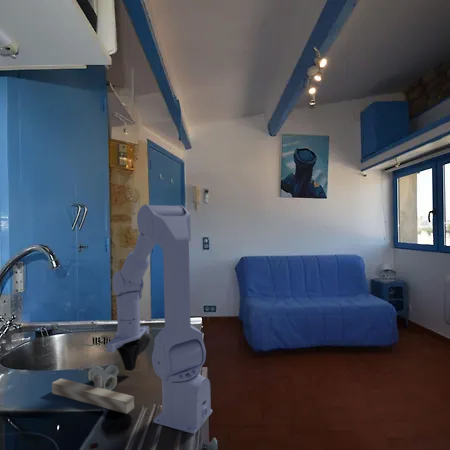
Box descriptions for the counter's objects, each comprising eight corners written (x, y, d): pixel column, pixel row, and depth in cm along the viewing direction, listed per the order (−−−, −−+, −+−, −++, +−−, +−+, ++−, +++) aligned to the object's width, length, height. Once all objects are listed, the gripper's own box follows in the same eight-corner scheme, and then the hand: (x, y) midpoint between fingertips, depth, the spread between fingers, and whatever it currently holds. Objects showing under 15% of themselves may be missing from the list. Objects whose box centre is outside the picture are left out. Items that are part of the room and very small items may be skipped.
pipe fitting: (112, 375, 88) (87, 382, 83) (113, 360, 88) (88, 367, 83) (128, 385, 82) (103, 393, 77) (129, 369, 83) (104, 377, 78)
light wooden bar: (139, 403, 73) (139, 383, 73) (126, 413, 69) (126, 392, 69) (67, 385, 82) (66, 367, 82) (52, 393, 78) (51, 374, 78)
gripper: (134, 309, 95) (135, 356, 95) (96, 324, 81) (97, 378, 81) (154, 311, 92) (155, 360, 92) (118, 327, 78) (120, 384, 79)
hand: (129, 369), depth 87 cm, fingers closed
